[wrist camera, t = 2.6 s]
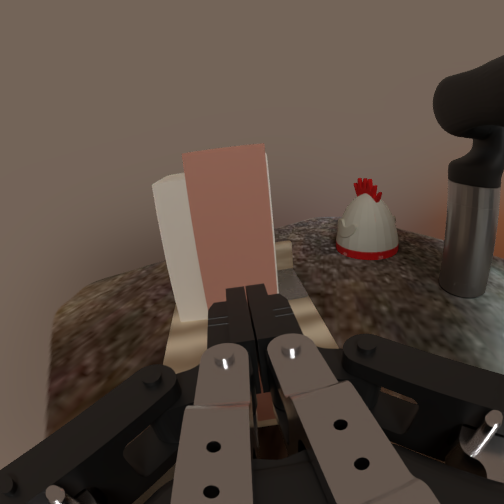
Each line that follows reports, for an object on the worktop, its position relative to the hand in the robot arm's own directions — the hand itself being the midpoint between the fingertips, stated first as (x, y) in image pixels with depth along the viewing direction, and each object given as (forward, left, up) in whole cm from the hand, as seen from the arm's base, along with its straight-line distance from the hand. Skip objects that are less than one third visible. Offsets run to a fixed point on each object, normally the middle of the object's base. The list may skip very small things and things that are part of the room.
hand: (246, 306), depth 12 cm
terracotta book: (-11, -11, -16) cm, 22 cm away
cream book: (-17, -26, -16) cm, 35 cm away
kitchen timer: (-52, -12, -17) cm, 56 cm away
